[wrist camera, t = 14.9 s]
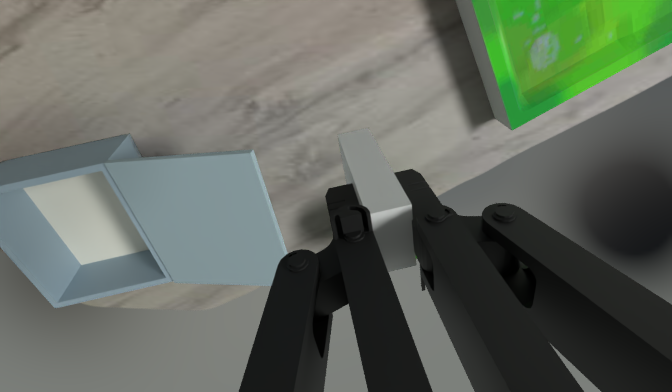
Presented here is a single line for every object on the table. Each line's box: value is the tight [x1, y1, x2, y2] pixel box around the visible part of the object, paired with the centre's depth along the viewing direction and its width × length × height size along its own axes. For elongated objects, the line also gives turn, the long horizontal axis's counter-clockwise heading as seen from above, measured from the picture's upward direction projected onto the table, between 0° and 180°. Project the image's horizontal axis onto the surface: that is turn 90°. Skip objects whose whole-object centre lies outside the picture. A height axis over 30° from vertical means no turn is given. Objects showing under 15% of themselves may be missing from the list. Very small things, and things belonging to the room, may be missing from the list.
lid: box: [104, 150, 288, 286], centre depth 42 cm, size 18×17×1 cm
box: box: [0, 133, 173, 308], centre depth 48 cm, size 18×16×8 cm
